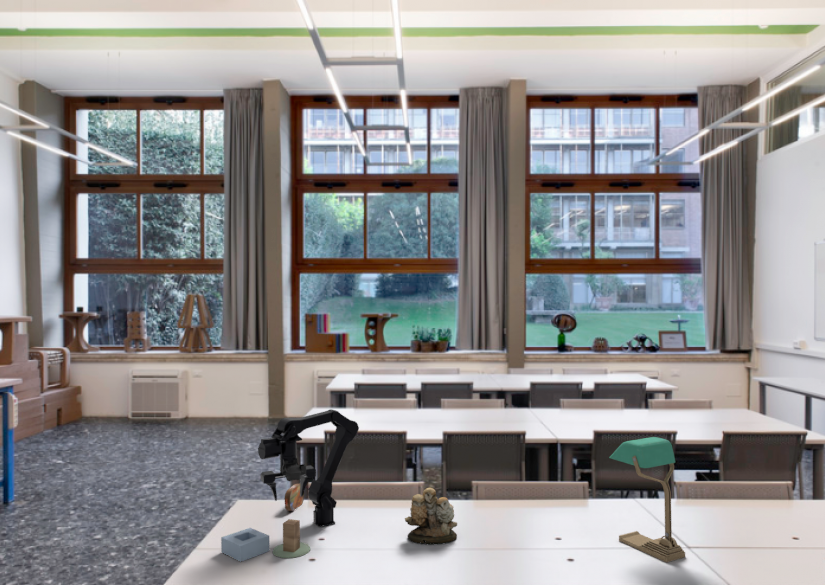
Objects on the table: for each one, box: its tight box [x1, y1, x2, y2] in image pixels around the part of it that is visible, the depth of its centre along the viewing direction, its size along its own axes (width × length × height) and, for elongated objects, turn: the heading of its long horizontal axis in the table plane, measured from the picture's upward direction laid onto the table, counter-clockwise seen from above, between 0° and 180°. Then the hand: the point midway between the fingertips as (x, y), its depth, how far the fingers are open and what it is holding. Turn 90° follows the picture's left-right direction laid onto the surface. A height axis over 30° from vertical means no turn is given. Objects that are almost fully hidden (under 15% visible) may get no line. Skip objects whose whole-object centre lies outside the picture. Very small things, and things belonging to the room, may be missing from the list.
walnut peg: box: [282, 518, 301, 552], centre depth 202 cm, size 4×4×9 cm
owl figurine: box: [404, 487, 458, 546], centre depth 211 cm, size 18×12×17 cm, turn 95°
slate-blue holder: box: [220, 527, 270, 563], centre depth 201 cm, size 11×11×5 cm
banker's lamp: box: [609, 436, 686, 563], centre depth 201 cm, size 16×21×35 cm
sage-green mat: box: [272, 541, 311, 559], centre depth 202 cm, size 12×12×1 cm
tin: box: [283, 483, 305, 512], centre depth 244 cm, size 15×3×8 cm, turn 168°
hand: (288, 498), depth 218 cm, fingers open, 9 cm apart
